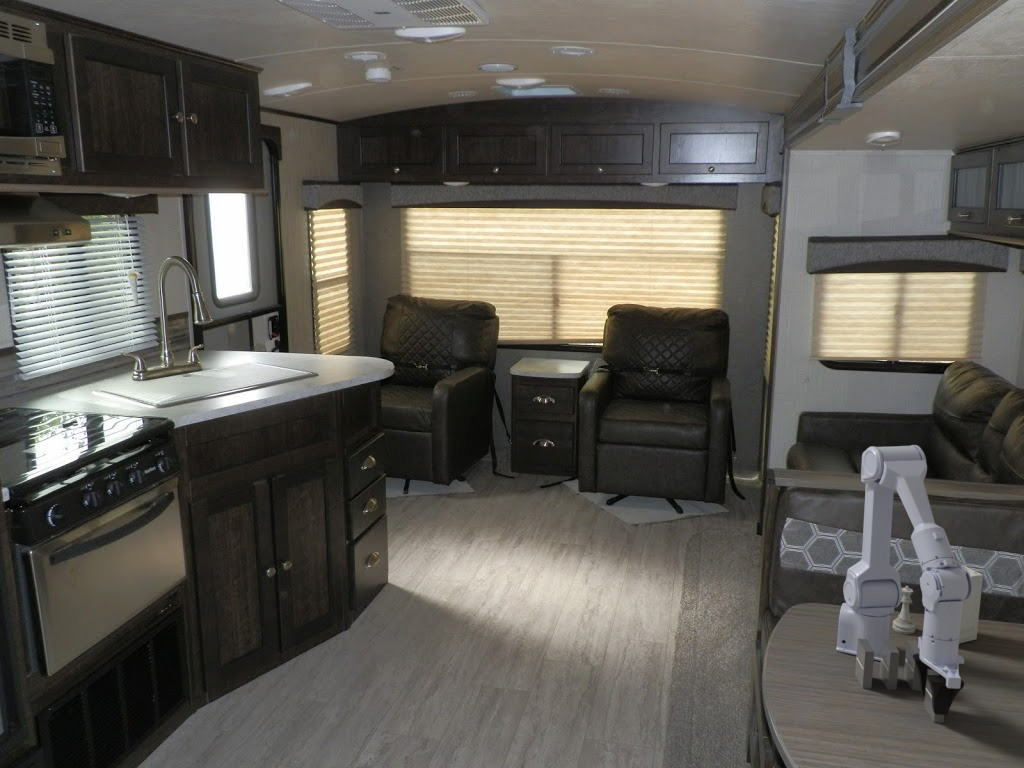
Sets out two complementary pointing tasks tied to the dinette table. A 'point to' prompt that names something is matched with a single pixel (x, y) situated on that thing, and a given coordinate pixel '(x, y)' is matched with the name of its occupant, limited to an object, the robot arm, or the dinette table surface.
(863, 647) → the domino
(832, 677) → the dinette table surface
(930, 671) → the domino
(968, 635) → the skincare box
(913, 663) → the domino
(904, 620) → the chess piece
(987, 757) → the dinette table surface
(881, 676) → the domino
